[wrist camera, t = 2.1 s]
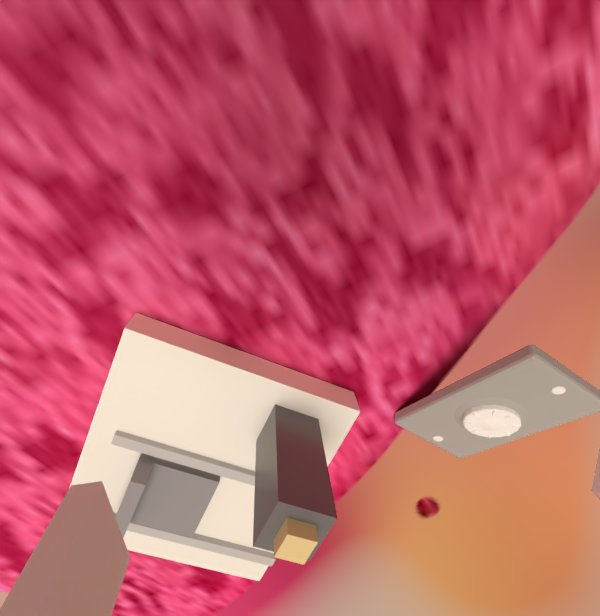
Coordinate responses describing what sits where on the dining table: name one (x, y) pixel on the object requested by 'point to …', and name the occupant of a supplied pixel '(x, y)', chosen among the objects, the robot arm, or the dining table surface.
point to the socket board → (200, 433)
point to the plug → (291, 487)
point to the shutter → (166, 496)
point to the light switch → (501, 404)
